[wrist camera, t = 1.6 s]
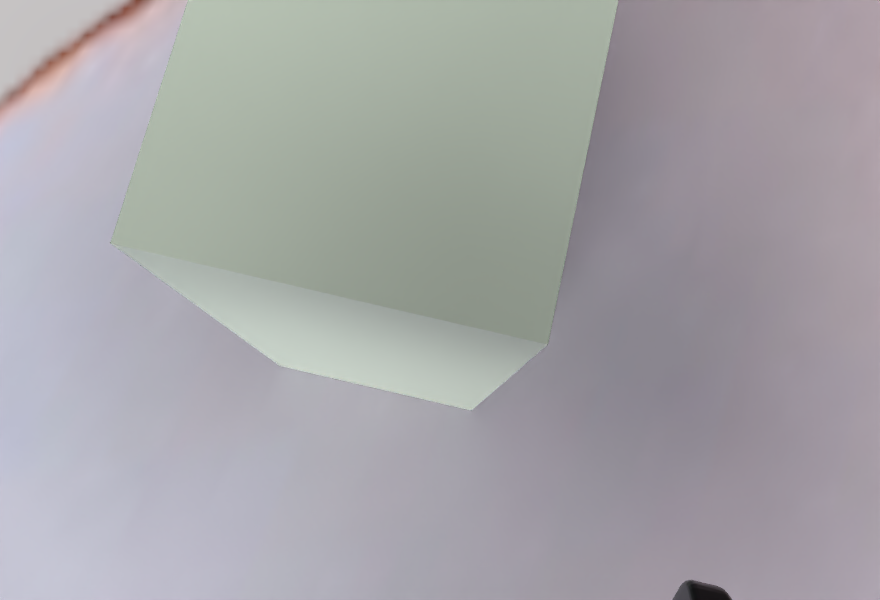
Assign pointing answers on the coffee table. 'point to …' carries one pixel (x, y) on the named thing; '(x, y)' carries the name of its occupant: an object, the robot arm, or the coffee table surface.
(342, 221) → the column
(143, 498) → the coffee table surface
